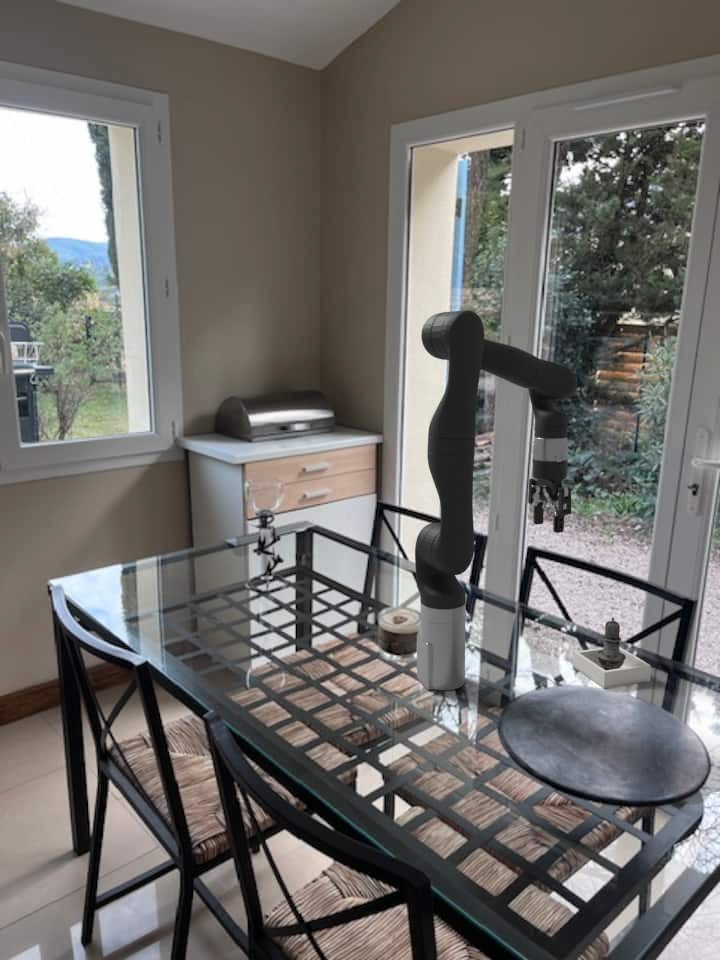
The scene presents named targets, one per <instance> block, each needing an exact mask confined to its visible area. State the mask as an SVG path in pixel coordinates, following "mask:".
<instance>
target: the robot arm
mask: <svg viewBox="0 0 720 960" xmlns="http://www.w3.org/2000/svg"><path fill="white" fill-rule="evenodd" d="M420 335H421V337H420V338H421V341H422V342H421V343H422V345H423V347H424V349H425V350H426V352H427V353H428V354H429V355H430V356H432V357H433V358H436V359H438V360H442V361H443V360H444V361H448V375H447V376H448V377H447V383H446V387H445V390H444V393H443V395H442V397H441V399H440V402H439V403H438V404H437V407H436V409H435V411H434V413H433V415H432V418H431V419H430V423H429V425H428V434H427V455H426V456H427V457H426V458H427V464H428V470H429V471H430V475H431V479H432V481H433V484H434V486H435V489H436V493H437V495H438V498H439V499H438V500H439V504H440V522H431V523H427V524H426V525H424V526H423V527H422V528H421V530H420V531H419V533H418V535H417V537H416V540H415V546H414V547H415V548H414V564H415V581H416V587H417V590H418V593H419V596H420V601H419V602H420V616H419V617H420V618H419V619H420V623H419V625H420V629H419V630H420V634H417V636H416V678H417V680H418V681H419V682H420V683H421V685H423V686H424V687H425V689H426V690H437V691H452V690H453V691H454V690H457V689H460V688H461V687H463V686H464V685H465V681H466V615H467V614H466V612H467V611H466V604H467V600H466V596H467V595H466V594H467V593H466V590H465V588H464V586H463V585H462V584H461V582H459V580H458V578H457V577H456V576H458V575H462V574H463V573H465V572H467V569H469V567H470V566H471V563H472V561H473V559H474V558H473V557H474V553H475V529H474V512H473V511H474V510H473V509H474V508H473V492H474V490H473V489H474V463H475V462H474V461H475V453H476V451H475V450H476V449H475V448H476V422H477V421H476V419H477V405H478V404H477V403H478V393H479V384H480V374H481V371H483V372H486V373H488V374H490V375H494V376H495V377H498V378H500V379H503V380H505V381H508V382H509V383H511V384H513V385H516V386H518V387H520V388H524V389H527V391H528V395H529V400H530V403H531V408H532V412H533V416H534V438H533V440H534V441H533V445H532V478H530V479H529V480H528V497H527V503H528V504H529V505H531V507H532V509H533V524H534V525H543V524H544V508H545V504H546V503H548V507H549V508H551V510H552V513H553V523H552V524H553V526H552V527H553V528H552V530H553V531H552V532H554V533H555V534H558V533H560V534H561V533H563V532H564V530H565V529H564V528H565V525H564V524H565V517H566V516H567V515H571V514H572V488H571V486H568V487H567V486H564V487H563V481H564V480H565V479H567V477H568V460H569V459H568V458H569V456H568V455H569V443H568V421H569V420H568V419H569V418H568V415H567V413H566V412H565V411H563V410H561V409H558V408H557V407H556V406H555V403H554V401H553V400H560V401H561V400H567V399H569V398H571V397H572V396H573V395H574V394H575V392H576V391H577V388H578V378H577V375H576V374H575V372H574V371H573V370H572V369H571V368H570V367H567V366H566V365H564V364H560V363H556V362H554V361H550V360H545V359H542V358H539V357H537V356H536V355H534V354H531V353H530V352H527V350H526V351H525V350H523V349H521V348H518V347H516V346H512V345H510V344H505V343H502V342H497V341H493V340H489V339H487V338H485V328H484V323H483V321H482V318H481V317H480V316H479V314H478V313H476V312H475V311H473V310H467V309H465V310H454V311H453V310H452V311H443V312H438V313H436V314H433V315H431V316H430V317H428V318H427V319H426V320H425V322H424V323H423V326H422V329H421V334H420ZM565 504H566V506H565Z"/></svg>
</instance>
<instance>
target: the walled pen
mask: <svg viewBox="0 0 720 960" xmlns="http://www.w3.org/2000/svg"><path fill="white" fill-rule="evenodd" d="M603 648H604V647H598V648H589V649H584V650H576V651H573V661H572V662H573V663H572V664H573V665H572V667H573V668H574V669H575V670H576V671H578V672H579V673H581V674H582V675H583V676H585V677H586V678H588V679H589V680H590V681H592V682H593V683H595V684H596V685H598V686H599V687H601V688H602V687H603V688H606V689H611V688H617V687H623V686H629V685H636V684H641V683H649V682H651V669H652V668H651V667H652V665H651V664H649V663H647V662H646V661H644V660H643V659H642V658H639V657H638V656H636V655H634V654H632V653H630V651H628V650H626V649H624V648H622V647H621V646H619V650H620V652H621V653H623V654H624V655H625V656H626V659H625V660H624V663H623V665H622V666H621V667H620V668H618V669H612V670H604V669H603V668H601V667H600V666H602V665H601V664H600V663H599V660H598V656H597V652H598V651H600V650H603ZM603 688H602V689H603Z"/></svg>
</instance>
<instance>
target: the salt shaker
mask: <svg viewBox="0 0 720 960" xmlns="http://www.w3.org/2000/svg"><path fill="white" fill-rule="evenodd" d="M620 625H621V624H620V623H619V622H617V621H616V620H615V618H614V617H611V619H610V620H609V621H607V622H606V623H605V629H604V630H605V631H604V635H603V636H602V639H603V647H602V648H603V650H600V651H598V652H597V656H598V660H599V663H600V664H601V665H602V666H600V667H601V668H603V669H604V670H612V669H618V668H620V667H621V666H622V665H623V663H624V660H625V659H626V656H625V655H624V654H623V653H621V652H620V650H619V647H620V642H621V641H622V638H621V637H620V631H621V630H620V629H621V626H620Z"/></svg>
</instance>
